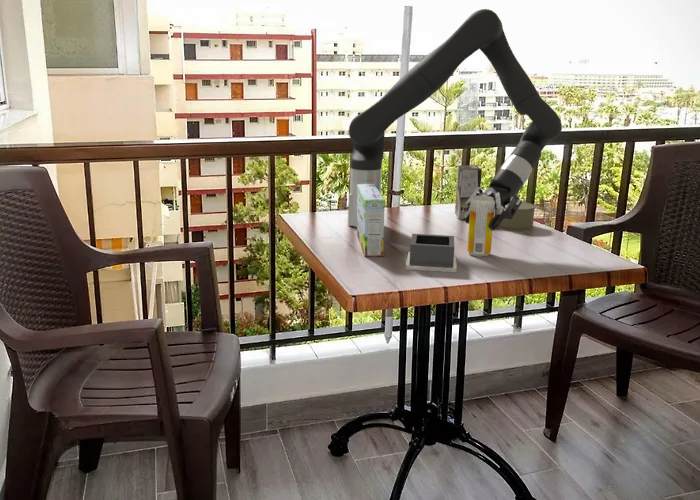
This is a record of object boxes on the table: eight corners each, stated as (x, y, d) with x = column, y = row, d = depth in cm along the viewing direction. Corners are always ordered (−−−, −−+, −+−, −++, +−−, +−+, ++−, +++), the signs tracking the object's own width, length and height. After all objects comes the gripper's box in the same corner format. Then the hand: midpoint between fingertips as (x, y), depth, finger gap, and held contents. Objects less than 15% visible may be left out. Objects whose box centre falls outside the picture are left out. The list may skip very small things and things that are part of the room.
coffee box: (478, 220, 208) (482, 169, 204) (458, 219, 208) (461, 169, 204) (473, 213, 217) (477, 164, 212) (454, 213, 217) (457, 164, 212)
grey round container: (541, 229, 198) (543, 207, 196) (508, 233, 194) (510, 210, 192) (517, 220, 209) (519, 199, 207) (485, 223, 204) (487, 202, 202)
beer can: (489, 251, 174) (493, 195, 170) (491, 257, 168) (496, 200, 164) (466, 250, 175) (470, 194, 170) (467, 256, 169) (471, 199, 165)
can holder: (405, 269, 158) (406, 245, 156) (408, 255, 169) (409, 232, 167) (456, 272, 156) (457, 248, 154) (455, 258, 167) (457, 235, 166)
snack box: (354, 235, 187) (356, 183, 183) (374, 235, 187) (376, 183, 183) (362, 257, 167) (364, 198, 162) (384, 257, 167) (387, 199, 163)
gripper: (484, 163, 175) (451, 211, 172) (527, 171, 164) (493, 222, 161) (496, 181, 180) (464, 228, 176) (539, 190, 169) (505, 239, 165)
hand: (478, 225), depth 169 cm, fingers open, 8 cm apart
